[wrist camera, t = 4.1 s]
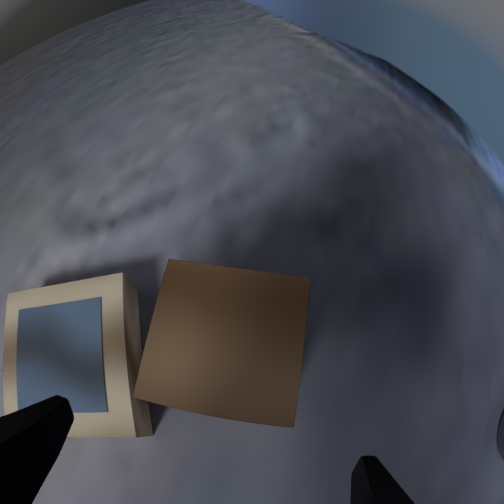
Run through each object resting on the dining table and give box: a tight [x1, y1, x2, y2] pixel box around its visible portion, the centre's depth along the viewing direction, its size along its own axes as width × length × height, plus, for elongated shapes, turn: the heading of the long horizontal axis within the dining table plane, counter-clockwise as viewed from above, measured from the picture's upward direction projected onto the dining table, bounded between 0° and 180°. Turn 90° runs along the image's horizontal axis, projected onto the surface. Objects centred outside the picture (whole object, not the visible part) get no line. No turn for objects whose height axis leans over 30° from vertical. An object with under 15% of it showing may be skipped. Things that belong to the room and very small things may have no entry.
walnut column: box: [133, 259, 310, 428], centre depth 14 cm, size 5×5×10 cm
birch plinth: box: [3, 272, 153, 438], centre depth 17 cm, size 10×10×3 cm
